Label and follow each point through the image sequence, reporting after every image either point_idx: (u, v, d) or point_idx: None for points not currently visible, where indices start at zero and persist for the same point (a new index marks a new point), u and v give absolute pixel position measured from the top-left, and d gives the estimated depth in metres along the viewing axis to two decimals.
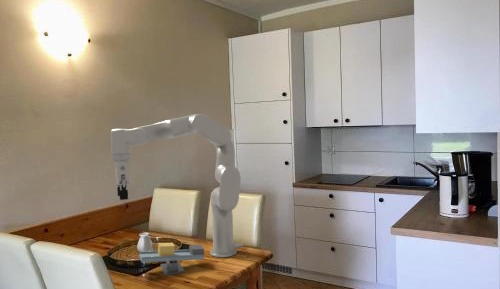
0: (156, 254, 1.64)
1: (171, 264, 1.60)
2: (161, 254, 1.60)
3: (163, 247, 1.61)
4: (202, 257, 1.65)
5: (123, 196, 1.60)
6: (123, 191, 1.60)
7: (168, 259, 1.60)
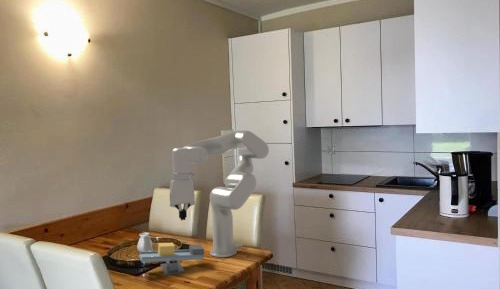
0: (156, 254, 1.64)
1: (171, 264, 1.60)
2: (161, 254, 1.60)
3: (163, 247, 1.61)
4: (202, 257, 1.65)
5: None
6: None
7: (168, 259, 1.60)
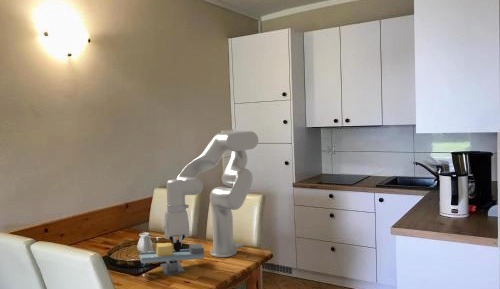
0: None
1: (171, 264, 1.60)
2: (159, 254, 1.60)
3: (161, 247, 1.60)
4: (202, 256, 1.65)
5: None
6: None
7: (168, 259, 1.60)
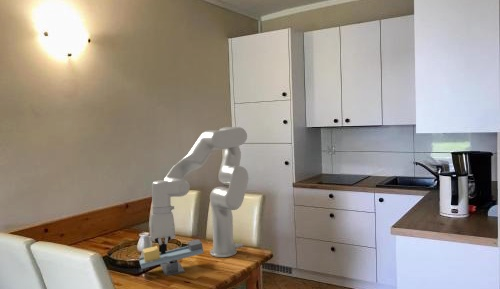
0: None
1: (171, 264, 1.60)
2: (146, 260, 1.58)
3: (147, 253, 1.58)
4: (201, 251, 1.65)
5: (166, 249, 1.63)
6: None
7: (168, 260, 1.60)
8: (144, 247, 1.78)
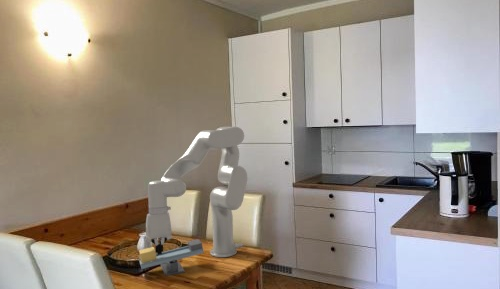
0: (156, 257, 1.64)
1: (171, 264, 1.60)
2: (143, 261, 1.58)
3: (143, 254, 1.58)
4: (201, 251, 1.65)
5: None
6: (162, 244, 1.63)
7: (168, 260, 1.60)
8: (144, 247, 1.78)
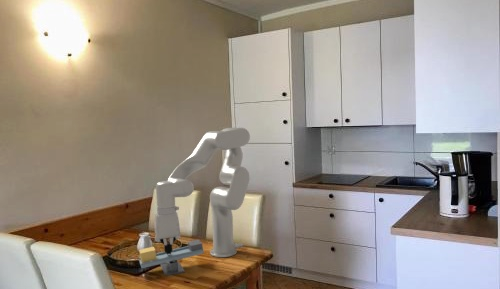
0: (156, 257, 1.64)
1: (171, 264, 1.60)
2: (143, 260, 1.58)
3: (144, 253, 1.58)
4: (202, 251, 1.65)
5: (171, 249, 1.64)
6: None
7: (168, 260, 1.60)
8: (144, 247, 1.78)
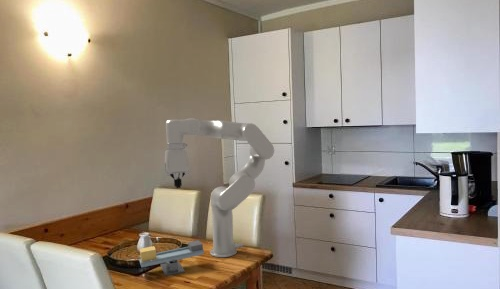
0: None
1: (171, 264, 1.60)
2: (143, 260, 1.58)
3: (144, 252, 1.58)
4: (202, 252, 1.65)
5: None
6: None
7: (168, 260, 1.60)
8: (144, 247, 1.78)
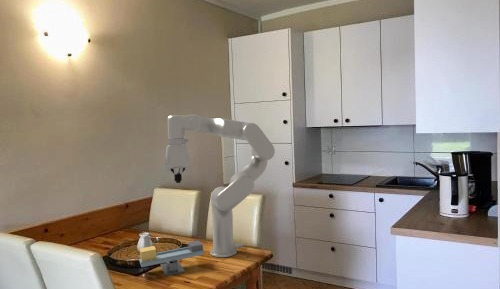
0: None
1: (171, 264, 1.60)
2: (143, 259, 1.58)
3: (144, 252, 1.58)
4: (202, 253, 1.65)
5: None
6: None
7: (168, 260, 1.60)
8: (144, 247, 1.78)
